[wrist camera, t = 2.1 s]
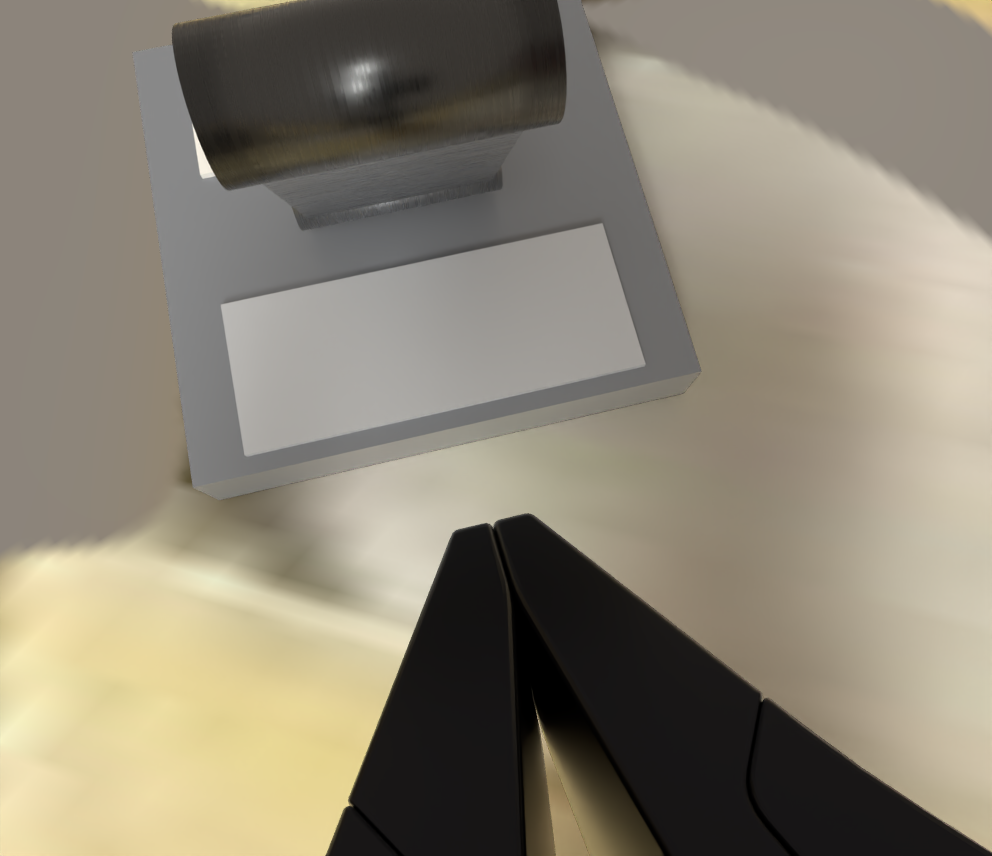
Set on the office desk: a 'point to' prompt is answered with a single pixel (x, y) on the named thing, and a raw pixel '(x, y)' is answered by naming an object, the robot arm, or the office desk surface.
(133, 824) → the office desk surface
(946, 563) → the office desk surface
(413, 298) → the switch base
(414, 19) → the toggle lever
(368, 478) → the office desk surface
